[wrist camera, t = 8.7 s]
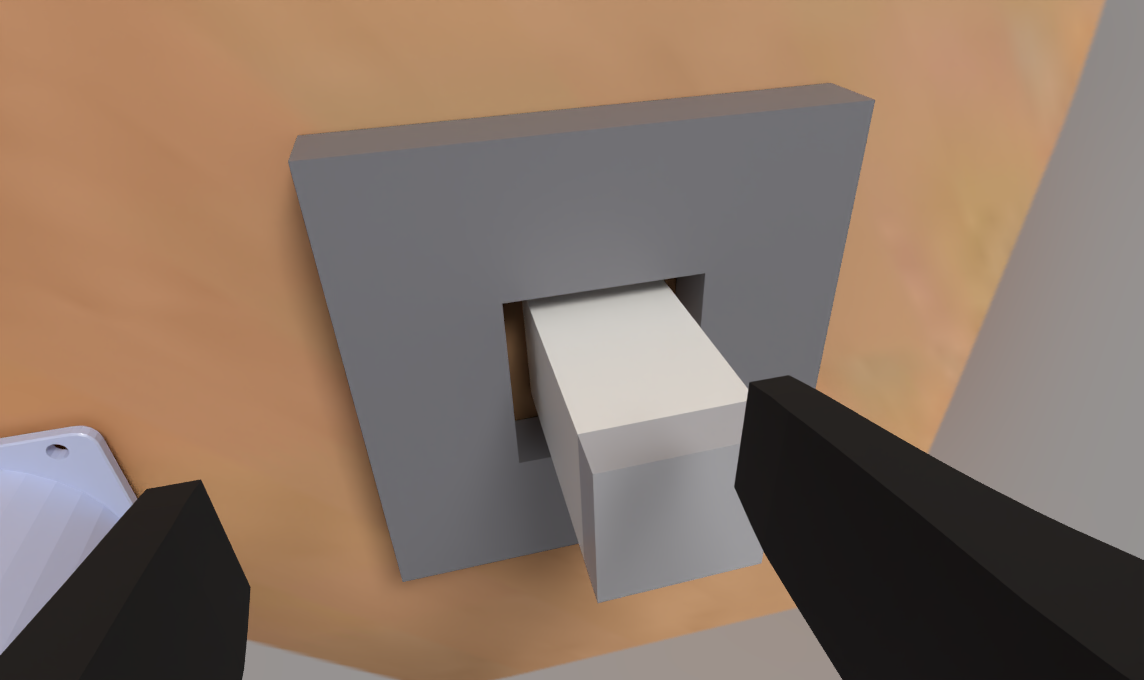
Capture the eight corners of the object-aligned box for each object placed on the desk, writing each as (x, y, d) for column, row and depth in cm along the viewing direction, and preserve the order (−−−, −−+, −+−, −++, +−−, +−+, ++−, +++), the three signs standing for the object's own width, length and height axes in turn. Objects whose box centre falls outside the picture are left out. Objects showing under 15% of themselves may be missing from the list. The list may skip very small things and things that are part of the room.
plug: (531, 393, 22) (597, 603, 15) (520, 284, 19) (592, 474, 13) (648, 371, 22) (761, 563, 16) (651, 264, 20) (783, 434, 14)
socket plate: (401, 535, 23) (403, 597, 21) (297, 135, 16) (284, 170, 14) (766, 459, 26) (801, 508, 24) (830, 82, 18) (889, 105, 16)
